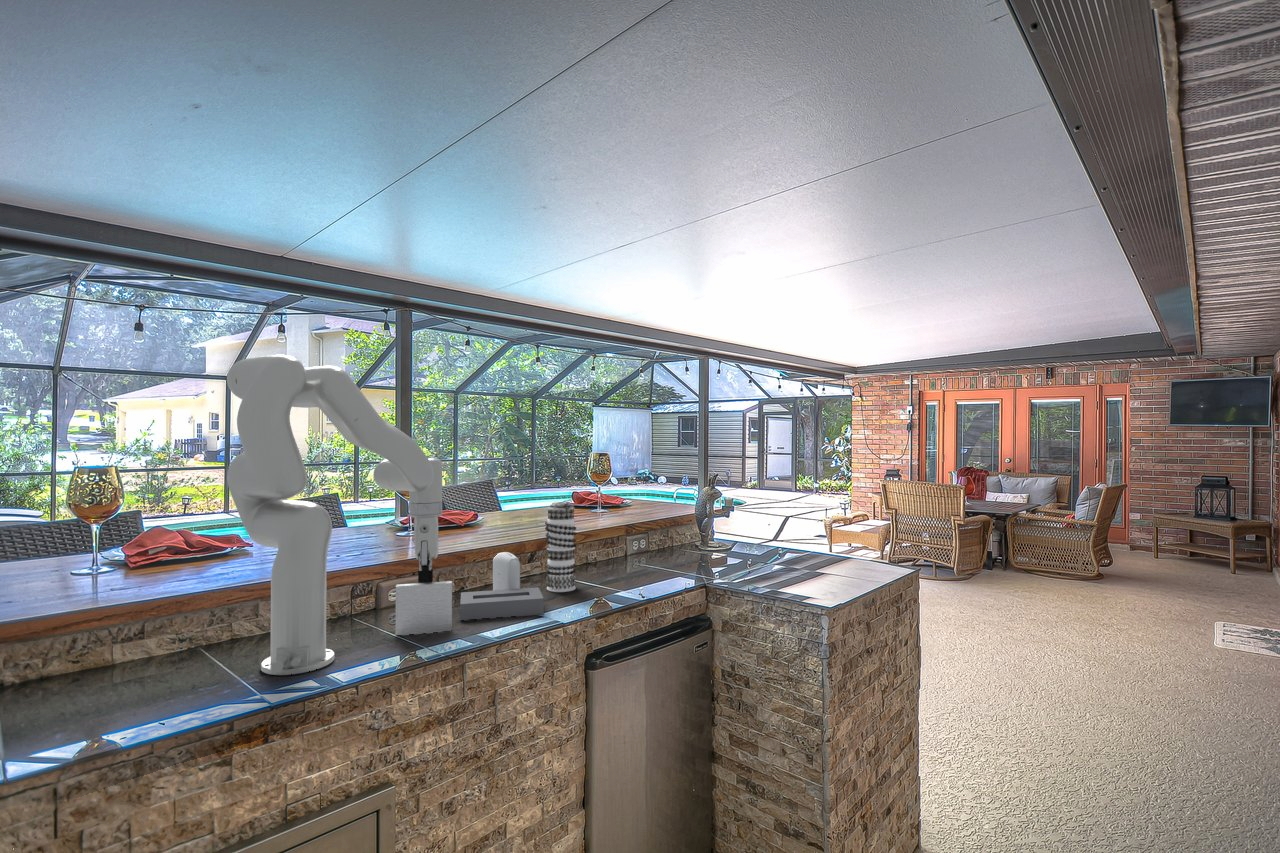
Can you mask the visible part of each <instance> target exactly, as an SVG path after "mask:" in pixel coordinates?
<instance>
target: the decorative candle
mask: <svg viewBox="0 0 1280 853" xmlns="http://www.w3.org/2000/svg"><path fill="white" fill-rule="evenodd" d="M574 510H575V507H574V506H573V504H572V503H571V502H566V501H565V502H563V501H557V502H552V503H551V504H550V506H549V507H547V520H546V521H547V522H546V521H545V523H544V524H545V525H546V526H545V531H546V532H547V533H545V537H546V539H545V543H547V545H546V546H545V548H546V550H547V564H546V566H545V567H546V568H547V570H546V574H547V576H546V577H545V579H546V583H545V584H546V586H547V587H546V591H548V592H551V593H552V592H553V593H565V592H572V591H574V590H576V586H575V585H576V584H577V582H576V578H577V576H576V575H575V573H576V570H577V569H575V568H576V564H575V556H574V555H575V553H574V552H575V550H576V547H577V544H575V543H576V542H577V539H576V538H574V537H575V536H576V535H577V532H575V531H576V530H577V526H575V525H574V524H575V513H574V512H575V511H574Z"/></svg>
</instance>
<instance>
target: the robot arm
mask: <svg viewBox="0 0 1280 853" xmlns="http://www.w3.org/2000/svg"><path fill="white" fill-rule="evenodd" d="M226 383H227V387H228V389H229V390H230V391H231V393H232V394H233V395H234V396H235V397H237V398H238V399H240V400H241V402H240V404H239V407H238V411H237V417H236V426H237V433H238V436H239V440H240V442H241V446H242V449H243V452H241V453H240V454H238V455H236V456H235V457H234V458H233V460H231V462H230V464H229V466H228V470H227V474H226V475H227V476H226V477H227V478H226V479H227V487H228V489H229V491H230V495H231V499H232V500H233V503H234V505H235V507H236V510H237V512H238V515H239V518H240V520H241V522H242V525H243V528H244V529H245V531H246V533H247V535H248V537H249V538H250V539H251V540H252V541H254V542H255V543H256V544H258V545H260V546H262V547H268V548H273V549H274V548H276V549H277V552H276V555H275V558H274V561H273V564H272V567H271V573H270V574H271V575H270V576H271V577H270V651H269V652H270V656H268V657H267V658H264V660H263V661H262V662H261V663H260V670H261V672H262V673H264V674H267V675H271V676H272V675H273V676H289V675H290V676H292V675H298V674H304V673H309V671H310V672H313V671H316V669H317V670H320V669H321V668H325V667H327V666H328V665H330V664H331V663H333V662H334V661H335V657H336V656H335V653H336V652H335V651H334V650H332V649H329V648H327V567H328V566H327V564H328V554H329V553H328V552H329V547H330V542H331V537H332V530H333V523H332V517H331V515H330V513H329V512H328V510H326V508H324V507H323V506H322V505H320V504H318V503H315V502H312V501H306V500H292V499H291V498H295V497H296V496H298V495H300V494H301V493H302V492H303V491H304V490H305V489H306V487H307V483H308V474H307V470H306V466H305V464H304V460H303V458H302V455H301V453H300V452H301V451H300V450H299V446H298V445H297V442H296V439H295V436H294V433H293V429H292V425H291V418H290V415H291V412H292V411H291V410H292V408H303V409H304V408H307V409H308V408H309V409H310V408H318V409H319V410H320V411H321V412H322V413H323V414H324V415H325V416H326V417H327V419H328V420H329V421H330V423H332V425H333V426H334V427H335V429H337V431H338V432H339V433H340V435H342V437H343V438H344V439H345V441H347V442H348V443H351V445H353V446H356V447H358V448H361V449H363V450H366V451H368V452H371V453H373V454H376V455H378V456H380V457H382V458H384V459H383V460H382V461H379V462H378V464H377V465H376V466H375V468H374V470H373V479H374V482H375V483H376V485H378V487H380V488H381V489H383V490H386V491H390V492H391V491H392V492H393V491H395V492H408V493H409V494H408V504H409V505H408V506H409V507H408V516H409V517H410V518H414V520H413V521H414V526H413V530H414V532H413V534H414V535H413V536H414V537H413V538H414V556H415V559H416V560H418V571H417V573H418V574H417V576H418V580H417V581H418V582H417V583H429V582H434V579H433V578H434V569H433V559H437V558H438V555H439V517H440V516H443V462H442V460H441V459H440V458H436V457H435V458H434V457H428V456H427V454H426V453H425V451H424V450H422V448H421V446H420V445H419V444H418V443H417V442H416V441H415V439H413V438H412V437H411V436H409V435H408V434H406V433H405V432H404V431H402V430H400V429H399V428H398V427H396V426H395V425H394V424H392V423H390V422H389V421H388V420H386V419H384V418H382V416H380V414H379V413H378V412H377V411H376V409H375V408H374V406H373V405H372V403H370V401H369V400H368V399H367V397H366V396H365V394H364V393H363V392H362V391H361V389H360V388H359V386H358V385H356V383H355V381H354V380H353V379H352V377H351V376H350V375H349V374H348V373H347V372H346V371H345V370H344V369H343V368H341V367H338V366H335V365H322V366H312V367H311V366H310V367H304V365H303V363H302V362H301V361H300V360H299V359H298V358H296V357H294V356H291V355H286V354H271V355H263V356H257V357H256V356H255V357H249V358H244V359H241V360H238V361H236V362H235V363H233V365H231V367H230V368H229V370H228V372H227V375H226ZM289 499H291V500H289ZM291 674H292V675H291Z"/></svg>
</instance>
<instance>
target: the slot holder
mask: <svg viewBox="0 0 1280 853" xmlns="http://www.w3.org/2000/svg"><path fill="white" fill-rule="evenodd" d="M544 601H545V597H544V596H543V594H542V592H541V590H540V588H539V587H538V586H537V587H525V588H520V589H507V590H493V589H492V590H481V591H480V590H476V591H463V592H460V604H459V608H460V611H459V612H460V614H459V616H460V618H459V619H460V620H464V621H469V620H468V619H477V620H483V619H482V618H490V619H497V618H496V617H503V618H512V617H511V616H516V617H525V616H526V617H527V616H539V615H540V616H541V615H542V616H543V615H544V614H545V610H544V609H545V608H544V607H545V606H544V605H545V602H544Z"/></svg>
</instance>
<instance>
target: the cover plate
mask: <svg viewBox="0 0 1280 853" xmlns="http://www.w3.org/2000/svg"><path fill="white" fill-rule="evenodd" d="M451 630H452V631H453V581H452V580H447V581H435V582H434V581H433V582H429V583H418V582H417V583H416V582H415V583H414V582H413V583H402V584H401V583H400V584H395V636H396V635H402V636H410V635H409V634H414V635H424V634H423V633H426V634H434V633H433V632H438V633H443V632H442V631H450V632H452V631H451Z"/></svg>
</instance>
